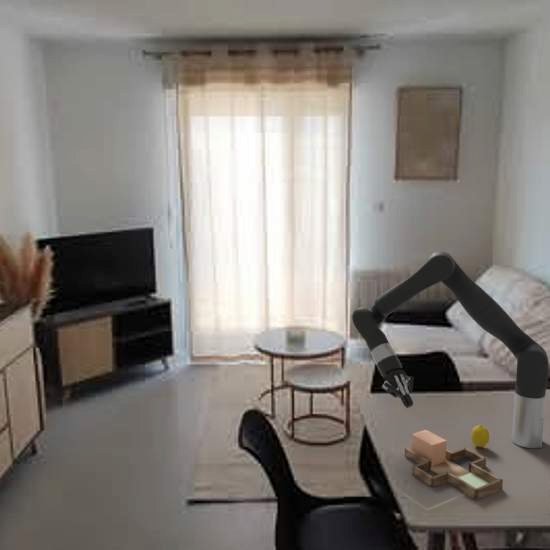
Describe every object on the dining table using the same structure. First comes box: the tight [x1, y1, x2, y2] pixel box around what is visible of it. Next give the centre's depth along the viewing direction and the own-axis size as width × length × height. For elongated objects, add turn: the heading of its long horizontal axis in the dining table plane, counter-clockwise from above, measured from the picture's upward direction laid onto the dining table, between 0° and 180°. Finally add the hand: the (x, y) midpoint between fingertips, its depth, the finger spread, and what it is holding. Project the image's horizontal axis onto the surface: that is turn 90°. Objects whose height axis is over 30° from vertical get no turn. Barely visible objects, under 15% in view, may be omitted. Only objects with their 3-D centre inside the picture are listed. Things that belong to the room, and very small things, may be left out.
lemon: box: [470, 424, 490, 448], centre depth 194 cm, size 6×6×8 cm
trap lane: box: [404, 447, 504, 501], centre depth 180 cm, size 29×22×3 cm
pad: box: [459, 473, 489, 488], centre depth 172 cm, size 10×9×1 cm
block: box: [410, 429, 447, 467], centre depth 187 cm, size 9×6×7 cm, turn 30°
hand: (410, 406), depth 192 cm, fingers closed
